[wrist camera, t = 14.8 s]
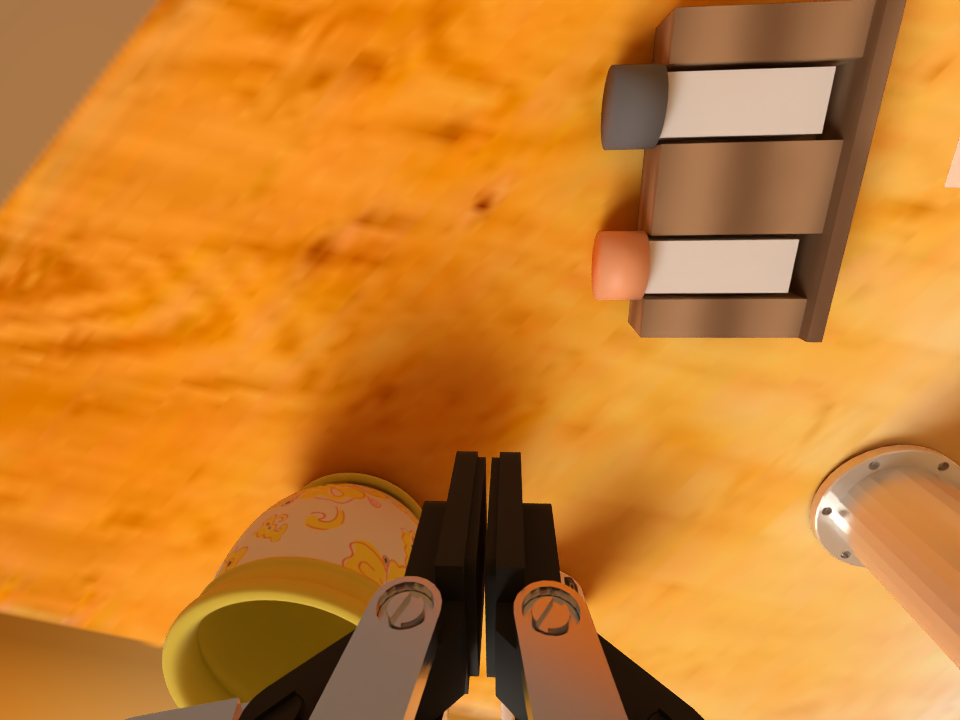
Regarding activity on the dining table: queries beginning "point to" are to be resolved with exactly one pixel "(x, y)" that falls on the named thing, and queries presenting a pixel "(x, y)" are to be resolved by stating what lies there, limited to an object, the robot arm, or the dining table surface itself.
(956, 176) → the bracket
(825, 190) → the brown wooden tray
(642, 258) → the rust knob
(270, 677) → the flowerpot
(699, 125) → the white and grey bar
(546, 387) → the dining table surface
